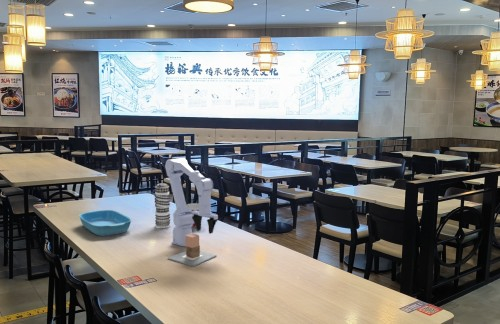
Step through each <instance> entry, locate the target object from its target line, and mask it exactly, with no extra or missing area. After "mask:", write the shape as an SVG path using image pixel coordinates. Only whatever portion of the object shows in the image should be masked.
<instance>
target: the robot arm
mask: <svg viewBox="0 0 500 324" xmlns="http://www.w3.org/2000/svg"><path fill="white" fill-rule="evenodd" d="M164 168H165V171H166V176H167V177H168V179H169V182H170V186H171V187H170V188H171V192H172V196H173V199H174V204H175V207H176V210H175V211H174V212H173V213H172V216H173V225H174V227H173V229H172V242H171V244H173V245H177V246H181V247H185V248H186V244H185V235H189V234H192V227H193V224H194V222H195V225H196V226H195V228H196V231H197V232H199V231H201V229H202V220H203V218H207V219H206V222H207V226H208V234H213V233H214V229H215V226H216V223H217V222H218V219H219V215H218V214H216V213H213V212H212V204H211V203H212V201H211V199H212V197H211V196H212V192H211V191H212V190H213V189H214V182H213V180H212V179H211V178H210V177H208V178H207V177H205V176H204V175H203V174H202V173H200V171H199V170H194V169H193V168H192V167H191V166H190V165H189V164H188V160H187V159H186V157H185V158H184V157H182V158H173V159H172V158H171V159H170V158H169V159H167V160H166V161H165V166H164ZM183 174H185V175H187V176H188V179H189V181H190V182H191V183H193V184H194V185H195V188H196V191H197V195H198V204H199V211H195V210H194V211H192V210H191V209H190V208H188V207H187V205H188V204H187V202H186V198H185V194H184V190H183V185H182V183H181V176H183Z"/></svg>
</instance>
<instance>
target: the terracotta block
mask: <svg viewBox="0 0 500 324" xmlns="http://www.w3.org/2000/svg"><path fill="white" fill-rule="evenodd" d="M185 244H186V246H187V247H190V248H194V247H197V246H199V245H200V235H199V234H195V233H192V232H191V234H189V235H185ZM186 246H185V247H186Z"/></svg>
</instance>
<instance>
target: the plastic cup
mask: <svg viewBox="0 0 500 324" xmlns="http://www.w3.org/2000/svg"><path fill="white" fill-rule="evenodd" d="M186 205H187V207H188V208H190V209H191V210H192V211H194V210H195V211H199V203H188V204H186ZM192 227H193V228H194V227H195V228H196V225H195V222H194V224H193V226H192Z"/></svg>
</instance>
